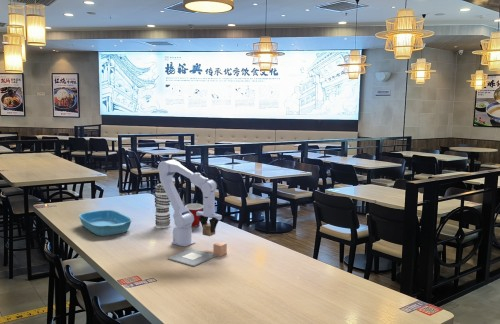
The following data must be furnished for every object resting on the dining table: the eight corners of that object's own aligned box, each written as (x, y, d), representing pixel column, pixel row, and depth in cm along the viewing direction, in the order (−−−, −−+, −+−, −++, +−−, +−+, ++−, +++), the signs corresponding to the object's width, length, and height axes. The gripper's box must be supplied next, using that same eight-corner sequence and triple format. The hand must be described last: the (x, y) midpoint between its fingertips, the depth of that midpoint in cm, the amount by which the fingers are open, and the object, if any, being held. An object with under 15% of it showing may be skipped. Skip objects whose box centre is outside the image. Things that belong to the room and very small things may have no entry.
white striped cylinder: (155, 228, 244) (154, 185, 240) (154, 224, 253) (153, 183, 249) (171, 227, 246) (170, 185, 243) (170, 223, 255) (169, 182, 252)
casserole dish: (138, 232, 237) (137, 220, 236) (98, 240, 222) (98, 227, 221) (111, 219, 264) (110, 207, 263) (74, 225, 250) (73, 213, 249)
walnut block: (202, 234, 211) (202, 224, 210) (208, 232, 215) (208, 222, 214) (209, 236, 209) (209, 226, 208) (215, 234, 212) (215, 224, 212)
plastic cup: (186, 228, 245) (186, 208, 243) (184, 223, 255) (184, 204, 254) (205, 227, 248) (205, 207, 246) (202, 222, 258) (202, 203, 257)
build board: (167, 259, 196) (167, 257, 196) (191, 249, 209) (191, 248, 209) (193, 266, 187) (193, 265, 187) (216, 256, 201) (216, 254, 200)
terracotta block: (213, 254, 204) (213, 244, 203) (219, 251, 208) (219, 241, 207) (220, 256, 201) (220, 245, 201) (226, 253, 205) (226, 243, 204)
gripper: (225, 205, 209) (225, 232, 211) (202, 201, 217) (202, 227, 219) (216, 208, 203) (216, 235, 205) (193, 203, 211) (193, 230, 213)
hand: (208, 231), depth 211 cm, fingers closed on walnut block, 4 cm apart
